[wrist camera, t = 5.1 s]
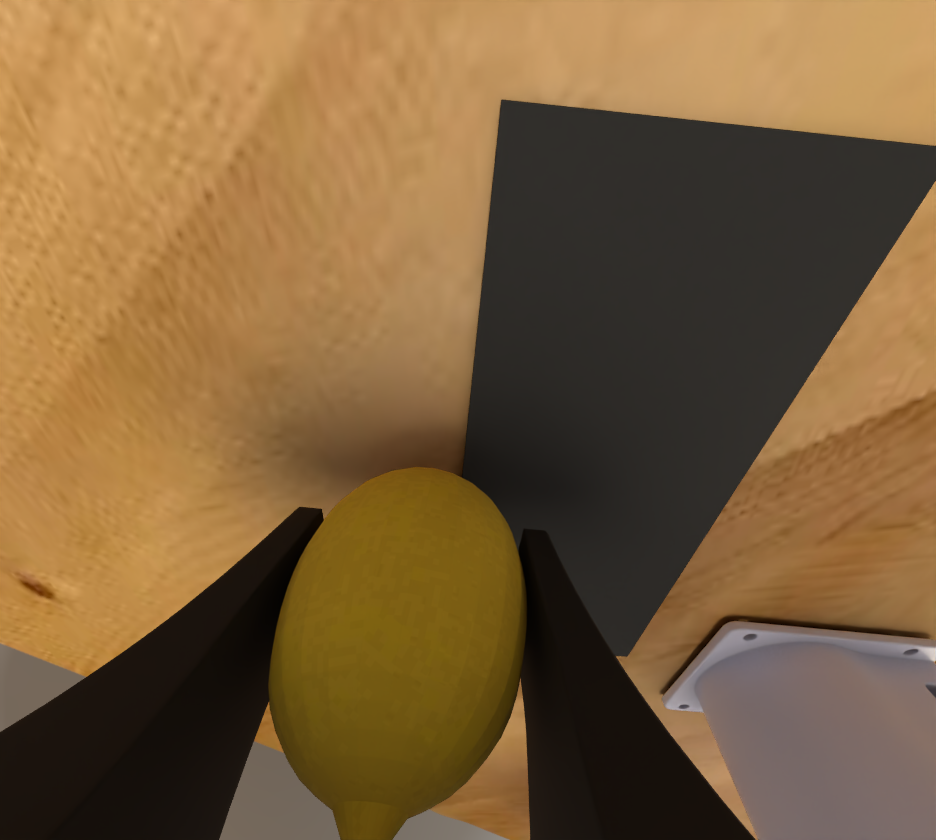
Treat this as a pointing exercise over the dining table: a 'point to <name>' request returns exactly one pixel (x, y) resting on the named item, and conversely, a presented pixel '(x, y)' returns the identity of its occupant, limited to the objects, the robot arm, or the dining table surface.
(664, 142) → the mat
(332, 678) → the lemon
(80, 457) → the dining table surface
